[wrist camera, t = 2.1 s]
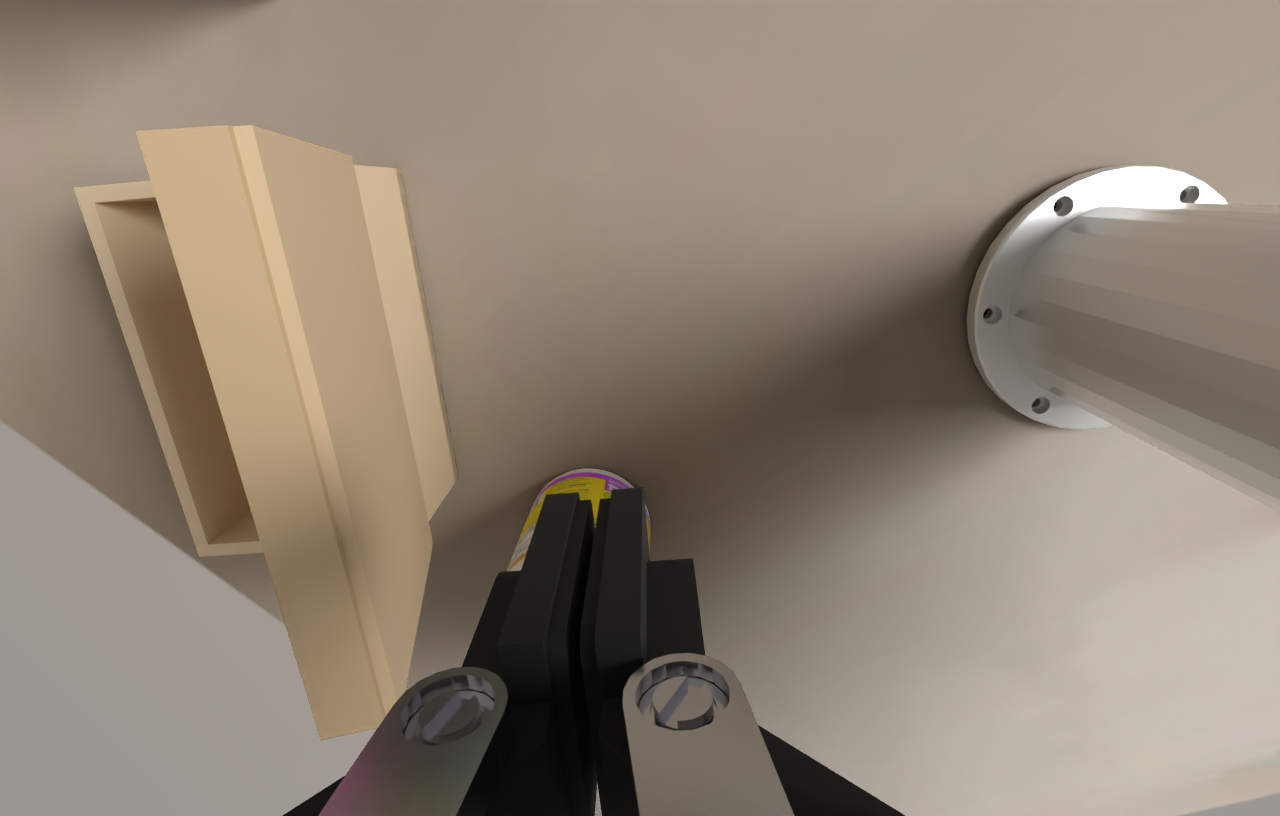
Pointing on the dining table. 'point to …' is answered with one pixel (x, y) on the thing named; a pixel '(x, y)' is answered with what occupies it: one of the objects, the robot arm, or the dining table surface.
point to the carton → (178, 368)
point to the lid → (305, 398)
